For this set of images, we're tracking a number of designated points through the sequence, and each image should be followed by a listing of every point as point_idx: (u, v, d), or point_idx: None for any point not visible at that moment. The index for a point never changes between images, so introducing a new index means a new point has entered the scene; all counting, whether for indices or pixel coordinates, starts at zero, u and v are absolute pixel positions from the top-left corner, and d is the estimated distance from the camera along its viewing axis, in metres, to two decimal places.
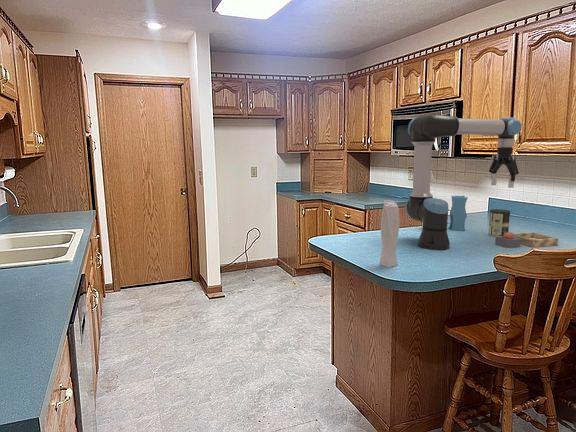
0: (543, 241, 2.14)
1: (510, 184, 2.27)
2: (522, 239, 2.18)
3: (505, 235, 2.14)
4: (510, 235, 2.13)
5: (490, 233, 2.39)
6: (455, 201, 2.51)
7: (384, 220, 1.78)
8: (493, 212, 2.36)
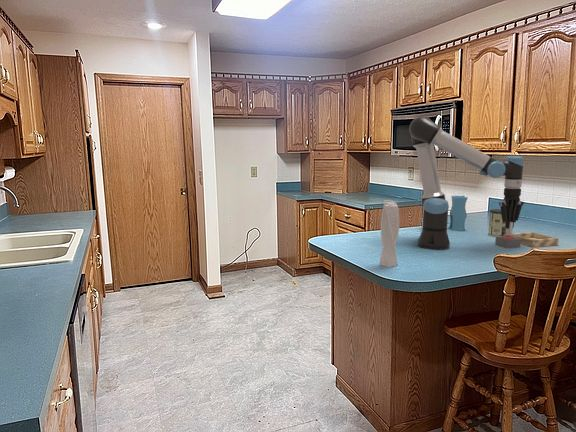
0: (543, 241, 2.14)
1: (506, 231, 2.15)
2: (522, 239, 2.18)
3: (505, 237, 2.14)
4: (510, 237, 2.13)
5: (490, 233, 2.39)
6: (455, 201, 2.51)
7: (384, 220, 1.78)
8: (493, 212, 2.36)
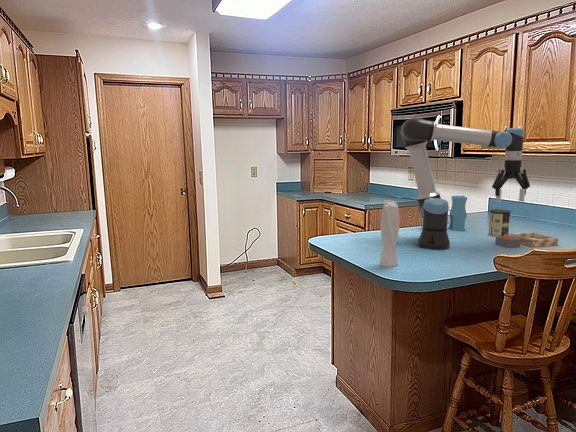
0: (543, 241, 2.14)
1: (496, 198, 2.16)
2: (522, 239, 2.18)
3: (505, 237, 2.14)
4: (510, 237, 2.13)
5: (490, 233, 2.39)
6: (455, 201, 2.51)
7: (384, 220, 1.78)
8: (493, 212, 2.36)
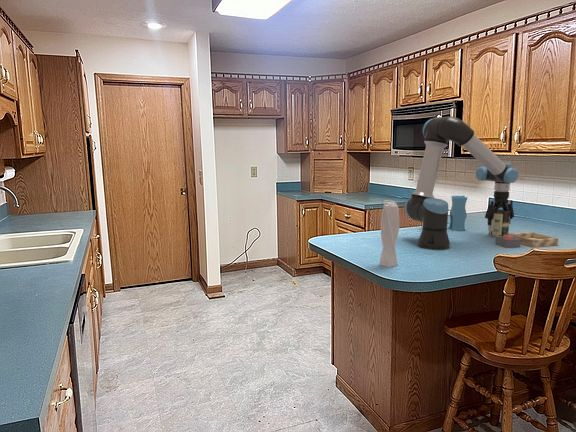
0: (543, 241, 2.14)
1: (489, 227, 2.39)
2: (522, 239, 2.18)
3: (505, 237, 2.14)
4: (510, 237, 2.13)
5: (490, 233, 2.39)
6: (455, 201, 2.51)
7: (384, 220, 1.78)
8: None
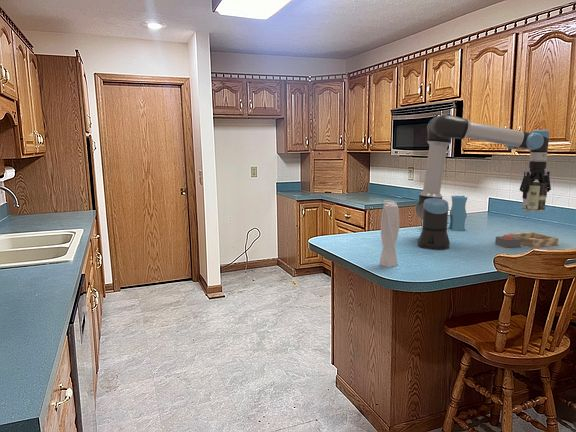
0: (543, 241, 2.14)
1: (523, 201, 2.19)
2: (522, 239, 2.18)
3: (505, 237, 2.14)
4: (510, 237, 2.13)
5: (525, 207, 2.19)
6: (455, 201, 2.51)
7: (384, 220, 1.78)
8: None
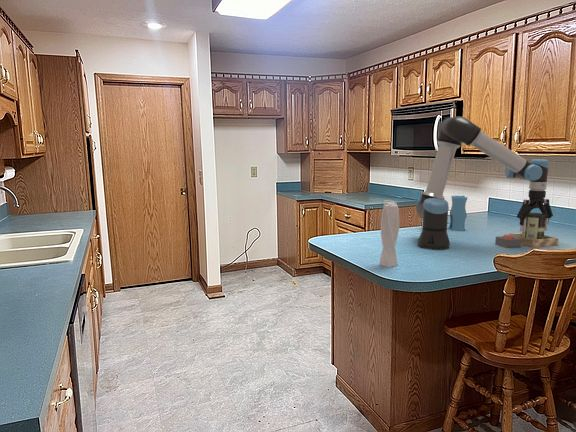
0: (543, 241, 2.14)
1: (521, 228, 2.20)
2: (522, 239, 2.18)
3: (505, 237, 2.14)
4: (510, 237, 2.13)
5: None
6: (455, 201, 2.51)
7: (384, 220, 1.78)
8: (527, 216, 2.18)
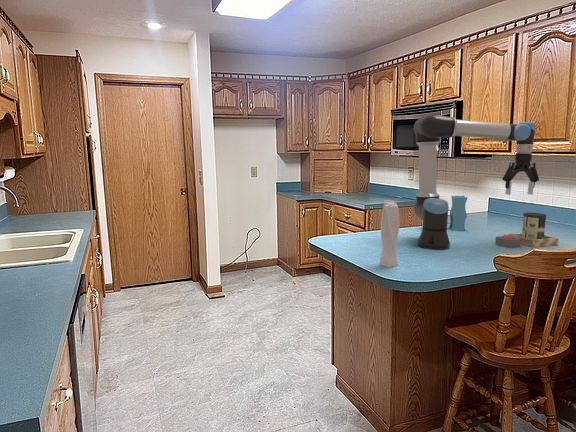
0: (543, 241, 2.14)
1: (506, 191, 2.20)
2: (522, 239, 2.18)
3: (505, 237, 2.14)
4: (510, 237, 2.13)
5: None
6: (455, 201, 2.51)
7: (384, 220, 1.78)
8: (527, 216, 2.18)
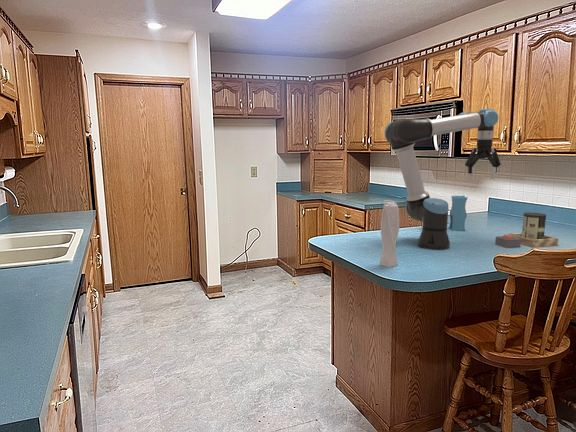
0: (543, 241, 2.14)
1: (469, 176, 2.28)
2: (522, 239, 2.18)
3: (505, 237, 2.14)
4: (510, 237, 2.13)
5: None
6: (455, 201, 2.51)
7: (384, 220, 1.78)
8: (527, 216, 2.18)
